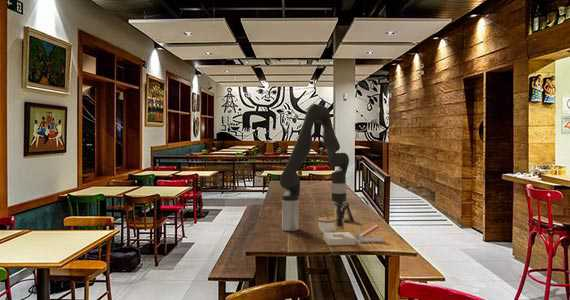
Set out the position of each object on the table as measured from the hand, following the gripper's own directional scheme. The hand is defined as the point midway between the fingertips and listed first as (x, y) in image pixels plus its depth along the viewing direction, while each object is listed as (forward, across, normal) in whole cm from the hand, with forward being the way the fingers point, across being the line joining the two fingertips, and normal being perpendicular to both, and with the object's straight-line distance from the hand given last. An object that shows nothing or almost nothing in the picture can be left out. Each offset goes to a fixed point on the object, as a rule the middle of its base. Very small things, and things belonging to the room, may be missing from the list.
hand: (339, 224), depth 223 cm
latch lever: (+5, 0, +16) cm, 16 cm away
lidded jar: (+9, -20, -2) cm, 22 cm away
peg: (+2, 0, 0) cm, 2 cm away
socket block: (+9, 0, 0) cm, 9 cm away
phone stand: (+9, -50, +15) cm, 53 cm away
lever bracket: (+9, 0, +16) cm, 18 cm away
